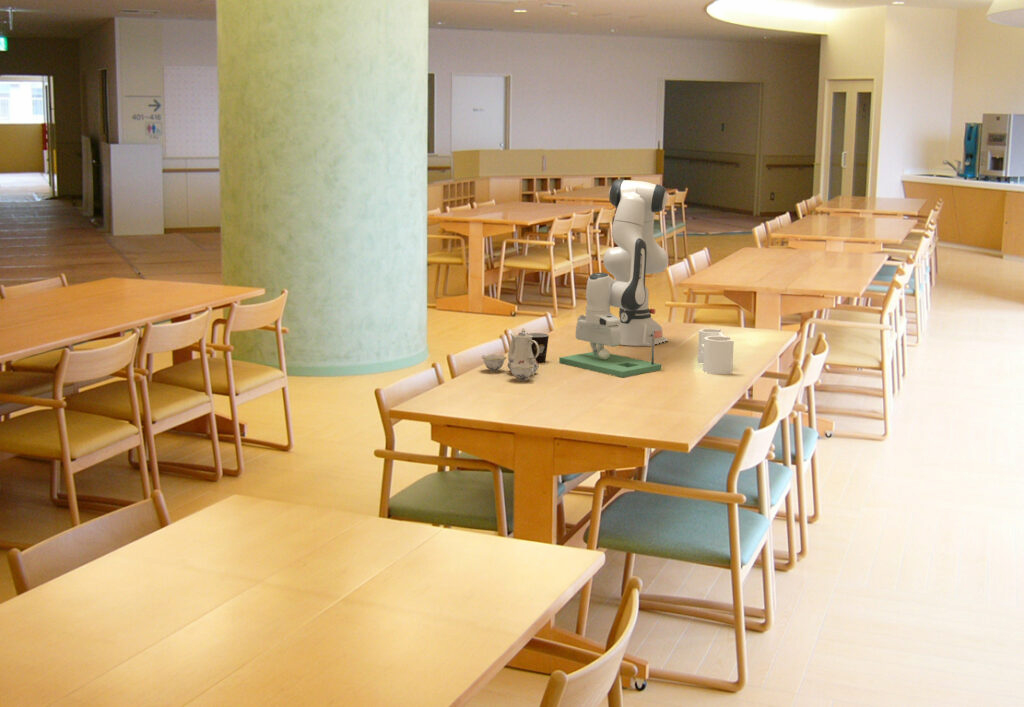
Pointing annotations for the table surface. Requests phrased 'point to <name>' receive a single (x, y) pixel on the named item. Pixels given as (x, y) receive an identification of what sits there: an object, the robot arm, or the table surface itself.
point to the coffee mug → (540, 346)
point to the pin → (654, 335)
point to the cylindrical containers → (715, 351)
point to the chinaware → (516, 357)
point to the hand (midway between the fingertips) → (597, 355)
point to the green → (610, 364)
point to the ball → (604, 354)
